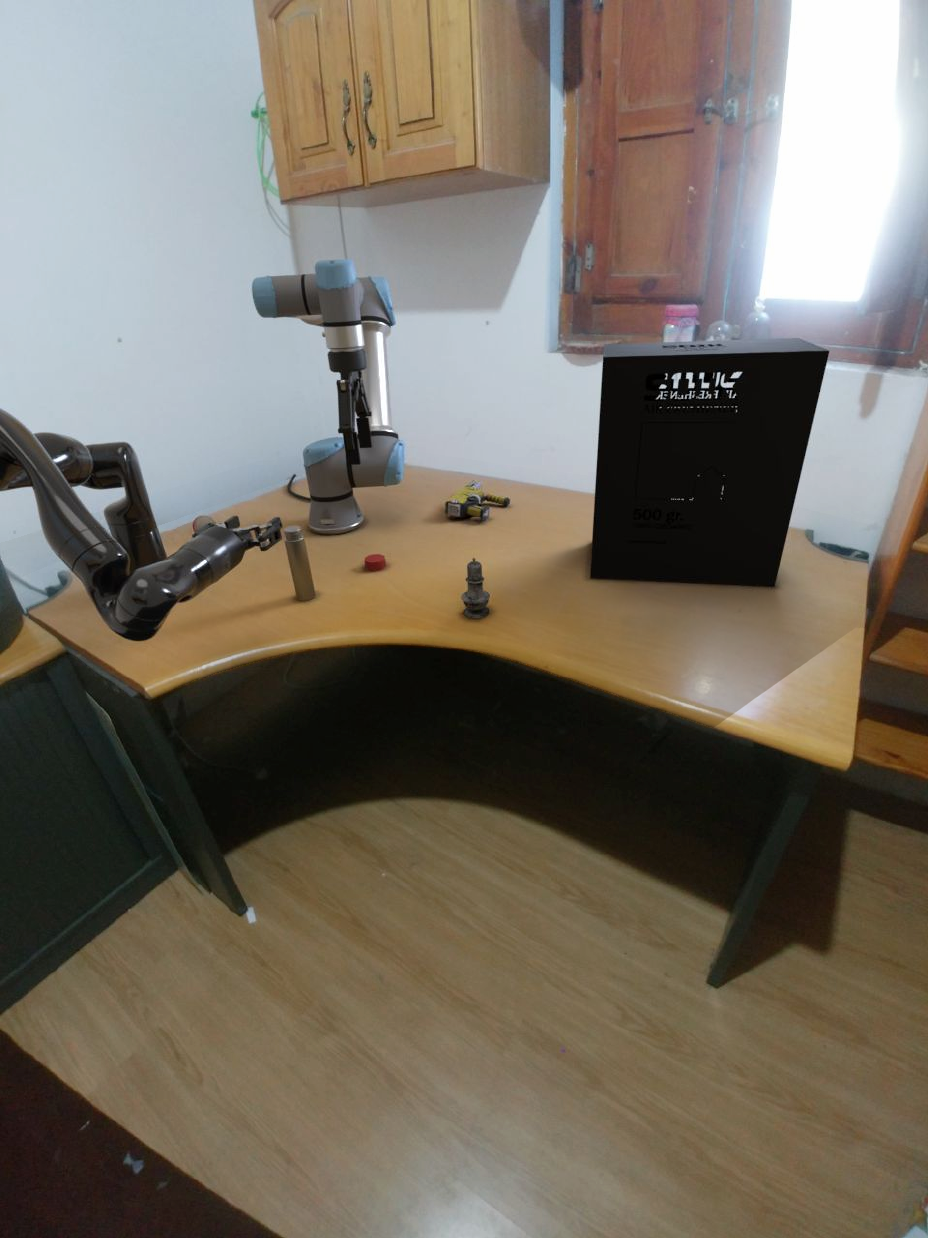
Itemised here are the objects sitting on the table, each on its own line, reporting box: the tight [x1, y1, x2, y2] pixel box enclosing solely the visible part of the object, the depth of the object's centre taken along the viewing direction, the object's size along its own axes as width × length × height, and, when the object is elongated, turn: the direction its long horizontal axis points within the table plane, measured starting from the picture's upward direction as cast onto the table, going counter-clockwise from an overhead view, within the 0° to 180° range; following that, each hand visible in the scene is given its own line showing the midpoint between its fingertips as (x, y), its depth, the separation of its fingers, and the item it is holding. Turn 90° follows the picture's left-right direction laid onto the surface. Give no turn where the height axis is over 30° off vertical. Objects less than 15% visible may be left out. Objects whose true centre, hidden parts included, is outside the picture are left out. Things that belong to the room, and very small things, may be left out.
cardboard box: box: [589, 337, 830, 587], centre depth 126 cm, size 38×20×45 cm, turn 78°
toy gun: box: [444, 480, 511, 521], centre depth 175 cm, size 5×24×15 cm
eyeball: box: [192, 514, 217, 533], centre depth 165 cm, size 6×6×6 cm
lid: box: [364, 553, 387, 572], centre depth 143 cm, size 5×5×2 cm
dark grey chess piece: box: [460, 557, 491, 619], centre depth 119 cm, size 6×6×12 cm
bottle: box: [283, 525, 317, 602], centre depth 128 cm, size 4×4×16 cm
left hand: (258, 521), depth 112 cm, fingers open, 8 cm apart
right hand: (360, 455), depth 131 cm, fingers open, 13 cm apart
